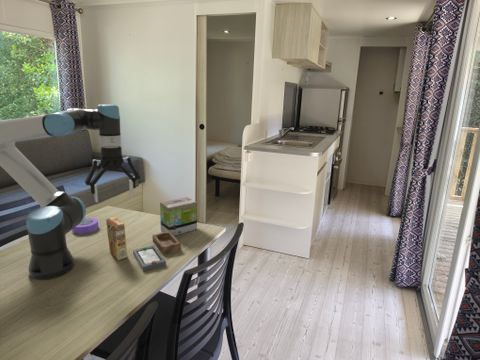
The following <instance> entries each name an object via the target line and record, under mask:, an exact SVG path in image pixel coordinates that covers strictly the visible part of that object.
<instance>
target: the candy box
mask: <svg viewBox="0 0 480 360" xmlns="http://www.w3.org/2000/svg"><path fill="white" fill-rule="evenodd" d="M105 221H106V229H107V230H106V231H107V239H108V248H109V253H110V254H111V255H112V256H113V257H114V258H115V259H116V260H118V261H120V260H122V259H125V258H128V251H127V250H128V249H127V239H126V228H125V227H126V225H125V222H123V221H121V219H119V218H117V217H116V216H114V217H110V218H106V219H105Z"/></svg>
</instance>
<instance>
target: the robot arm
mask: <svg viewBox="0 0 480 360" xmlns="http://www.w3.org/2000/svg"><path fill="white" fill-rule="evenodd" d="M83 130H90V131H91V130H92V131H93V130H94V131H98V132H99V133H98V134H99V145H100V159H92V162H91V167H90V169H89V171H88V173H87V176H86V178H85V181H84V184H85V185H86V186H90V193H91V194H92V195H93V198H94V200H93V201H94V202H95V203H99V198H98V197H99V196H98V186H97V185H96V184H97V183H98V182H99V180H100V179H101V178H102V176H103V175H104V174H105V173H106V172H107V171H118V170H121V171H122V172H123V174H125V175H126V176H127V177H128V178H129V179H128V188H129V189H128V190H129V196H130V197H131V198H134V195H135V194H134V189H136V181H137V180H140V175H139V174H138V172H137V170H136V168H135V166H134V165H133V163H132V160H131V159H132V158H131V157H129V156H126V157H123V152H122V137H121V134H122V133H121V116H120V108H119V105H116V104H113V103H111V104H108V103H107V104H105V103H102V104H98V105H97V108H95V109H92V108H91V109H88V108H79V107H78V108H77V107H76V108H68V109H66V110H64V111H57V112H52V113H46V114H39V115H31V116H26V117H25V116H24V117H18V118H10V119H6V120H5V119H4V120H2V119H1V118H0V167H1V168H2V169H3V170H4V171H5V172H6V173H7V174H8V175H9V176H10V177H11V178H12V179H13V180H14V181H15V182H16V183H17V184H18V185H19V186H20V187H21V188H22V189H23V190H24V191H25V192H26V193H27V194H28V195H29V197H31V198H32V199H33V200H34V201H35V202H36V203H37V204H39V206H40V207H39V208H36V209H33V211H30V213H29V214H27V217H26V219H25V221H26V222H25V223H26V227H25V228H26V231H27V234H28V235H27V236H28V241H29V247H30V251H31V255H30V261H29V265H28V274H29V276H30V277H31V278H32V279H34V280H41V281H42V280H50V279H55V278H59V277H62V276H63V275H65V274H68V273H69V272H71V270H73V268H74V267H75V259H74V256H73V255H72V254H71V252H70V251H71V250H70V249H69V248H68V245H67V239H66V235H67V234H68V233H70V232H72V229H73V228H74V227H76V226H77V225H79V224H80V223H81V221H82V220H83V219H84V218H86V213H87V208H86V205H85V203H84V202H83V201H82V200H81V198H79V197H76V196H71V195H69V194H68V192H66V191H61V190H60V191H59V190H58V189H57V188H56V186H54V184H52V182H50V181H49V179H48V178H47V177H46V176H45V175H44V174H43V173H42V172H41V171H40V170H39V169H38V168H37V167H36V166H35V164H33V163H32V162H31V161H30V160H29V158H27V157H26V156H25V155H24V153H22V152H21V151H20V150H19V149H18V147H16V142H24V141H30V140H36V139H37V140H38V139H44V138H51V137H65V136H67V135H70V134H74V133H77V132H80V131H83ZM123 163H125V164H127V166H128V167H129V169H130V171H131V172H132V174H133V175H132V174H131V173H130V172H129V171H128V170H127V169H126V168H125V167H124V166H122V165H123ZM99 165H102V166H101V167H100V169H99V170H98V172H97V173H96V174H95V172H96V170H97V167H99ZM94 174H95V176H94ZM93 176H94V177H93Z"/></svg>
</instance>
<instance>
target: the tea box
mask: <svg viewBox="0 0 480 360" xmlns="http://www.w3.org/2000/svg"><path fill="white" fill-rule="evenodd" d="M159 208H160V209H159V213H160V215H159V217H160V231H162V233H163V232H168V231H170V232H171V233H172V234H173V236H174V237H175V236H178V235H181V234H186V233H188V231H189V232H193V231H196V230H197V229H198V202H197V201H195V200H193V199H191V198H190V197H188V196H185V197H181V198H180V197H179V198H177V199H176V198H175V199H172V200H165V201H160V202H159ZM195 229H196V230H195ZM192 230H193V231H192Z"/></svg>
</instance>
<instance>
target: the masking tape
mask: <svg viewBox="0 0 480 360" xmlns="http://www.w3.org/2000/svg"><path fill="white" fill-rule="evenodd" d="M97 230H99V220H98V219H97V218H95V217H84V219H83V220H82V221H81V223H80V224H79V225H77V226H76V227H74V228H73V229H72V230H71V232H72V233H73V232H74V233H73V234H75V233H76V234H75V235H86V234H91V233H93V232H96V231H97Z"/></svg>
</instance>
